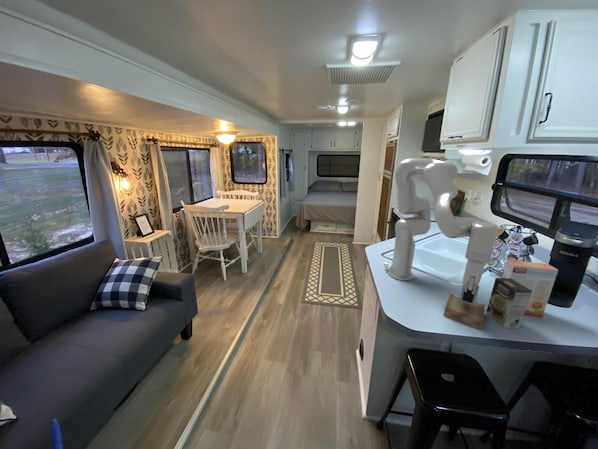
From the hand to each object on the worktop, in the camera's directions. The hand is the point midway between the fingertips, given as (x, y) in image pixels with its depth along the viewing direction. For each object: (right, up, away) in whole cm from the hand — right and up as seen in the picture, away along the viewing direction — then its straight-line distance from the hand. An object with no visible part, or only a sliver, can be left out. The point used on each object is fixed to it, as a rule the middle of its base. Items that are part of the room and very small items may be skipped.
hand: (468, 297), depth 93 cm
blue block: (0, -1, 0) cm, 1 cm away
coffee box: (+13, -9, 0) cm, 16 cm away
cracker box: (+25, -7, +6) cm, 27 cm away
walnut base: (0, -8, +2) cm, 8 cm away
